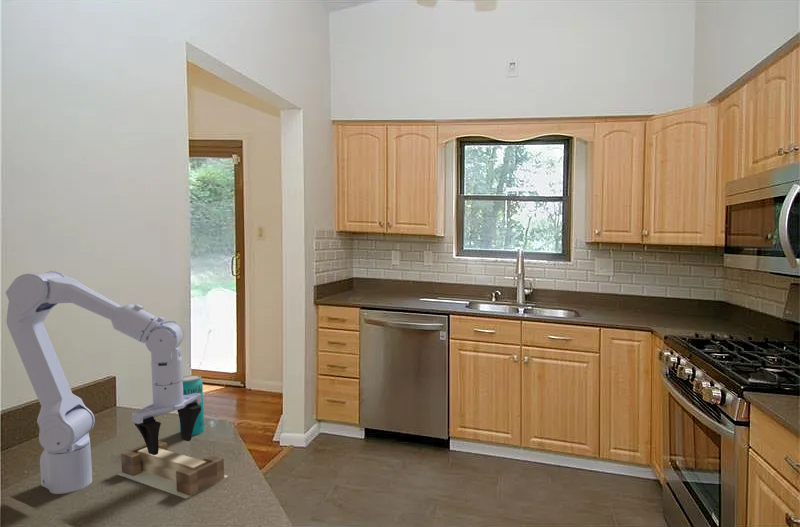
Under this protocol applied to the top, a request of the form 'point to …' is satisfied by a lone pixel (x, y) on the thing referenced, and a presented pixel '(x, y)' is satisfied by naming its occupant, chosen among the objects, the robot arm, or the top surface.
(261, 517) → the top surface
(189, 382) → the beverage can
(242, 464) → the top surface
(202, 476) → the right end cap
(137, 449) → the left end cap
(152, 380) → the robot arm
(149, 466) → the slat
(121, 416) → the top surface
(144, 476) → the base board
